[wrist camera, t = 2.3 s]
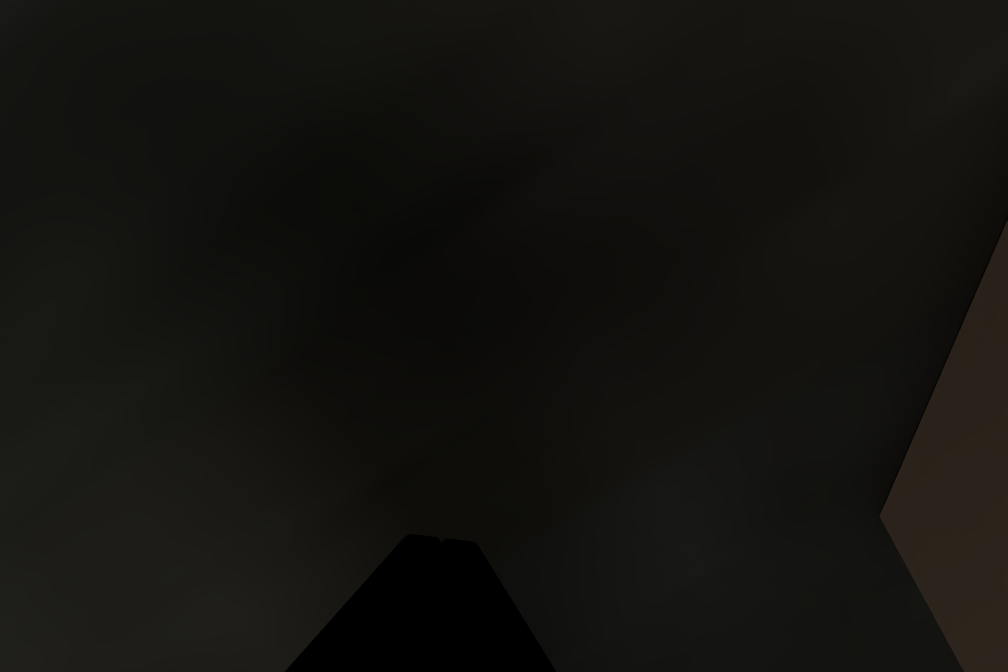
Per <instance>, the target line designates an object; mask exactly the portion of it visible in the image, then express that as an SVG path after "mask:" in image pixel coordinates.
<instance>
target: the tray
mask: <svg viewBox="0 0 1008 672" xmlns="http://www.w3.org/2000/svg"><path fill="white" fill-rule="evenodd" d="M880 518H881V520H882V522H883V523H884V525H885V527H886V529H887V531H888V533H889V534H890V536H891V538H892V540H893V542H894V544H895V545H896V547H897V549H898V551H899V553H900V555H901V557H902V558H903V560H904V562H905V564H906V566H907V568H908V569H909V571H910V573H911V575H912V577H913V579H914V580H915V582H916V584H917V586H918V588H919V590H920V591H921V593H922V595H923V597H924V599H925V601H926V602H927V604H928V606H929V608H930V610H931V612H932V613H933V615H934V617H935V619H936V621H937V623H938V624H939V626H940V628H941V630H942V632H943V634H944V635H945V637H946V639H947V641H948V643H949V645H950V646H951V648H952V650H953V652H954V654H955V656H956V657H957V659H958V661H959V663H960V665H961V667H962V668H963V670H964V672H1008V220H1007V222H1006V224H1005V227H1004V229H1003V231H1002V234H1001V236H1000V238H999V241H998V243H997V245H996V247H995V250H994V252H993V254H992V257H991V259H990V261H989V264H988V266H987V268H986V271H985V273H984V275H983V278H982V280H981V282H980V285H979V287H978V289H977V292H976V294H975V296H974V299H973V301H972V303H971V305H970V308H969V310H968V312H967V315H966V317H965V319H964V322H963V324H962V326H961V329H960V331H959V333H958V336H957V338H956V340H955V343H954V345H953V347H952V350H951V352H950V354H949V356H948V359H947V361H946V363H945V366H944V368H943V370H942V373H941V375H940V377H939V380H938V382H937V384H936V387H935V389H934V391H933V394H932V396H931V398H930V401H929V403H928V405H927V407H926V410H925V412H924V414H923V417H922V419H921V421H920V424H919V426H918V428H917V431H916V433H915V435H914V438H913V440H912V442H911V445H910V447H909V449H908V452H907V454H906V456H905V459H904V461H903V463H902V465H901V468H900V470H899V472H898V475H897V477H896V479H895V482H894V484H893V486H892V489H891V491H890V493H889V496H888V498H887V500H886V503H885V505H884V507H883V510H882V512H881V514H880Z"/></svg>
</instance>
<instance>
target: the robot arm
mask: <svg viewBox="0 0 1008 672" xmlns="http://www.w3.org/2000/svg"><path fill="white" fill-rule="evenodd" d="M285 672H556V670H555V669H554V667H553V666H552V664H551V662H550V661H549V659H548V657H547V656H546V654H545V653H544V651H543V649H542V648H541V646H540V645H539V643H538V641H537V640H536V638H535V636H534V635H533V633H532V632H531V630H530V628H529V627H528V625H527V624H526V622H525V620H524V619H523V617H522V615H521V614H520V612H519V611H518V609H517V607H516V606H515V604H514V603H513V601H512V599H511V598H510V596H509V594H508V593H507V591H506V590H505V588H504V586H503V585H502V583H501V581H500V580H499V578H498V577H497V575H496V573H495V572H494V570H493V569H492V567H491V565H490V564H489V562H488V560H487V559H486V557H485V556H484V554H483V552H482V551H481V549H480V548H479V546H478V545H477V544H476V543H475V542H472V541H464V540H456V539H445V540H443V542H442V544H441V542H440V540H439V539H438V538H437V537H431V536H423V535H415V534H409V535H407V536H405V537H404V538H403V539H402V540H401V542H400V543H399V544H398V545H397V546H396V547H395V548H394V549H393V551H392V552H391V553H390V554H389V555H388V556H387V557H386V558H385V560H384V561H383V562H382V563H381V564H380V565H379V566H378V567H377V569H376V570H375V571H374V572H373V573H372V574H371V575H370V576H369V577H368V579H367V580H366V581H365V582H364V583H363V584H362V585H361V586H360V588H359V589H358V590H357V591H356V592H355V593H354V594H353V595H352V597H351V598H350V599H349V600H348V601H347V602H346V603H345V604H344V606H343V607H342V608H341V609H340V610H339V611H338V612H337V613H336V615H335V616H334V617H333V618H332V619H331V620H330V621H329V622H328V624H327V625H326V626H325V627H324V628H323V629H322V630H321V631H320V633H319V634H318V635H317V636H316V637H315V638H314V639H313V640H312V642H311V643H310V644H309V645H308V646H307V647H306V648H305V649H304V651H303V652H302V653H301V654H300V655H299V656H298V657H297V658H296V660H295V661H294V662H293V663H292V664H291V665H290V666H289V667H288V669H287V670H286V671H285Z"/></svg>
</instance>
